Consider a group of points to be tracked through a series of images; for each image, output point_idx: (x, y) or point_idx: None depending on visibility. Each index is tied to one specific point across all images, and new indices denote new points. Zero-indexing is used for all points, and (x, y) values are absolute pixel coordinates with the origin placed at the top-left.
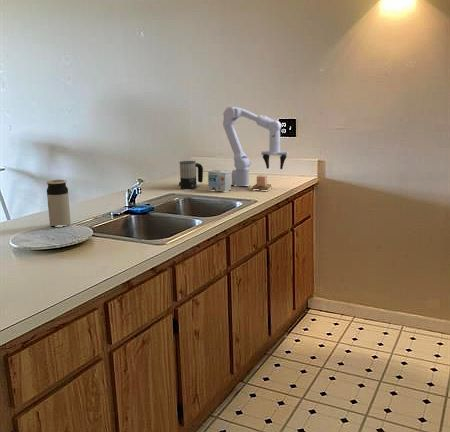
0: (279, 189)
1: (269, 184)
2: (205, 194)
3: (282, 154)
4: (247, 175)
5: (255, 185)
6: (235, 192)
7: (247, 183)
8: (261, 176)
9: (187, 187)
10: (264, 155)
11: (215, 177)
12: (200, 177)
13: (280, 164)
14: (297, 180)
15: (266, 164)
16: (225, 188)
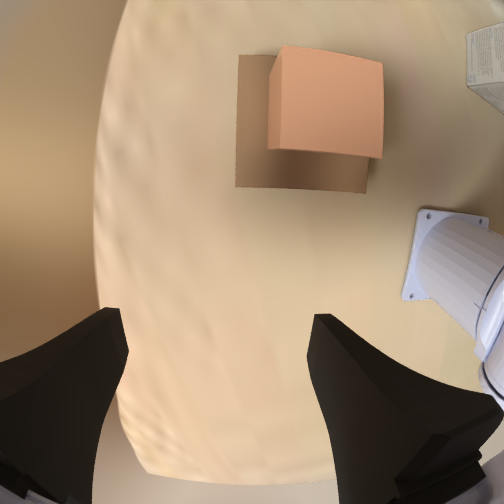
0: (167, 181)
1: (250, 176)
2: (498, 10)
3: (8, 498)
4: (463, 270)
5: None
6: (428, 28)
7: (428, 246)
8: (334, 75)
9: None
10: (460, 472)
11: None
12: None
13: (81, 337)
14: (176, 447)
15: (357, 342)
16: (479, 31)
